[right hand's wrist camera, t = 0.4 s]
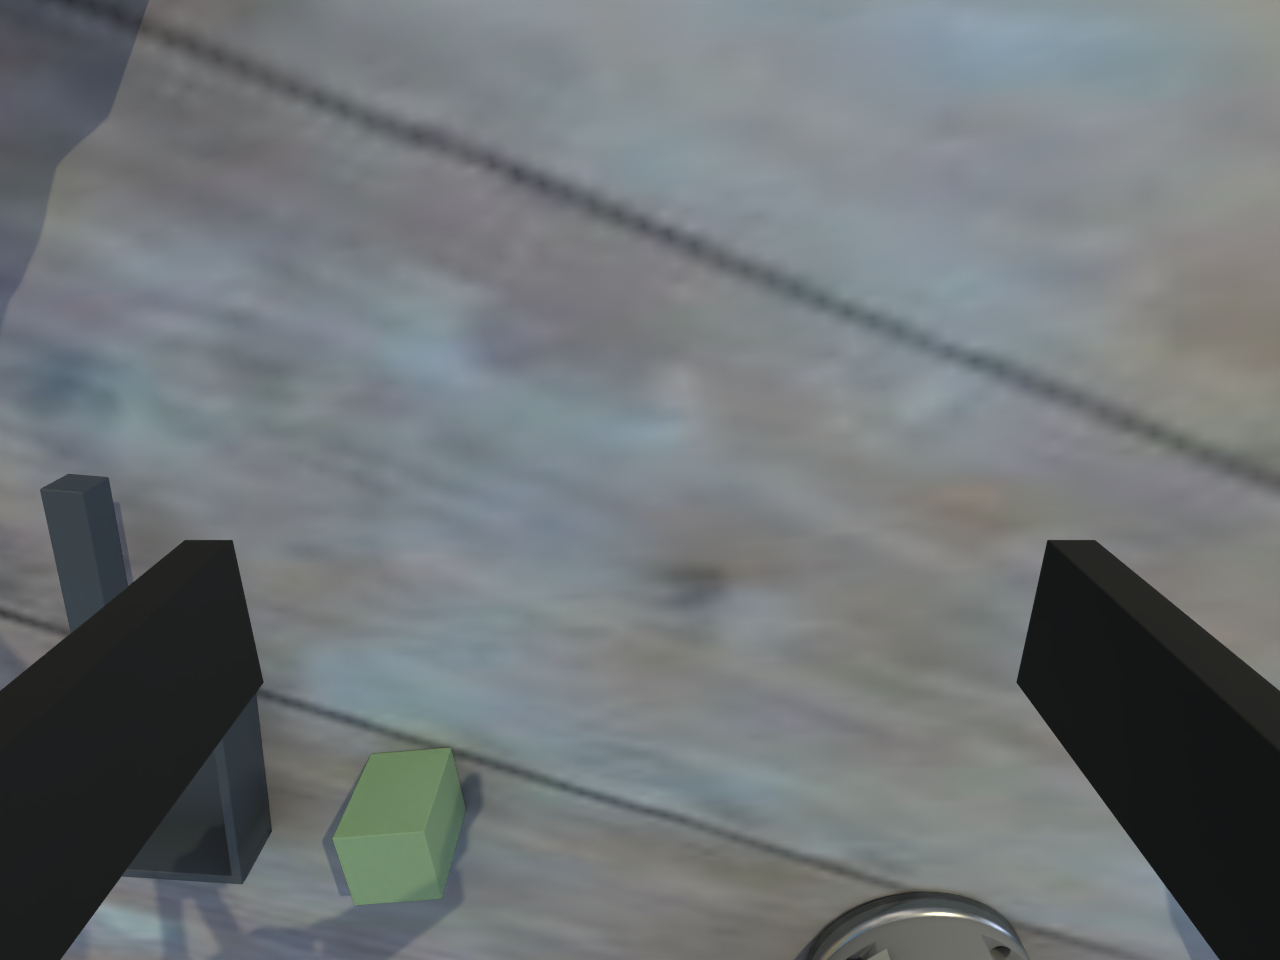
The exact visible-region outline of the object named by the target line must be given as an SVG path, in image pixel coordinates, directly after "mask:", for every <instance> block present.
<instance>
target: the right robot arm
mask: <svg viewBox="0 0 1280 960" xmlns="http://www.w3.org/2000/svg"><path fill="white" fill-rule="evenodd" d="M262 684H263V678H262V673H261V669H260V664H259V660H258V655H257V651H256V646H255V641H254V637H253V632H252V628H251V623H250V618H249V614H248V609H247V605H246V600H245V595H244V591H243V586H242V582H241V577H240V572H239V568H238V563H237V559H236V554H235V549H234V545H233V540H185V541H183V542H182V543H181V544H180V545H178V546H177V547H176V548H175V549H174V550H172V551H171V552H170V553H169V554H167V555H166V556H165V557H164V558H163V559H161V560H160V561H159V562H158V563H156V564H155V565H154V566H153V567H152V568H150V569H149V570H148V571H147V572H145V573H144V574H143V575H142V576H141V577H139V578H138V579H137V580H136V581H134V582H133V583H132V584H131V585H130V586H128V587H127V588H126V589H125V590H123V591H122V592H121V593H120V594H118V595H117V596H116V597H115V598H114V599H112V600H111V601H110V602H109V603H107V604H106V605H105V606H104V607H103V608H101V609H100V610H99V611H98V612H96V613H95V614H94V615H93V616H92V617H90V618H89V619H88V620H87V621H85V622H84V623H83V624H82V625H81V626H79V627H78V628H77V629H76V630H74V631H73V632H72V633H71V634H70V635H68V636H67V637H66V638H65V639H63V640H62V641H61V642H60V643H58V644H57V645H56V646H55V647H54V648H52V649H51V650H50V651H49V652H47V653H46V654H45V655H44V656H43V657H41V658H40V659H39V660H38V661H36V662H35V663H34V664H33V665H32V666H30V667H29V668H28V669H27V670H25V671H24V672H23V673H22V674H21V675H19V676H18V677H17V678H16V679H14V680H13V681H12V682H11V683H10V684H8V685H7V686H6V687H5V688H3V689H2V690H1V691H0V960H60V959H61V958H62V957H63V955H64V954H65V953H66V951H67V950H68V949H69V947H70V946H71V944H72V943H73V942H74V940H75V939H76V938H77V936H78V935H79V933H80V932H81V931H82V929H83V928H84V927H85V925H86V924H87V923H88V921H89V920H90V918H91V917H92V916H93V914H94V913H95V912H96V910H97V909H98V908H99V906H100V905H101V903H102V902H103V901H104V899H105V898H106V897H107V895H108V894H109V893H110V891H111V890H112V888H113V887H114V886H115V884H116V883H117V882H118V880H119V879H120V878H121V876H122V875H123V873H124V872H125V871H126V869H127V868H128V867H129V865H130V864H131V863H132V861H133V860H134V858H135V857H136V856H137V854H138V853H139V852H140V850H141V849H142V848H143V846H144V845H145V843H146V842H147V841H148V839H149V838H150V837H151V835H152V834H153V833H154V831H155V830H156V828H157V827H158V826H159V824H160V823H161V822H162V820H163V819H164V817H165V816H166V815H167V813H168V812H169V811H170V809H171V808H172V807H173V805H174V804H175V802H176V801H177V800H178V798H179V797H180V796H181V794H182V793H183V792H184V790H185V789H186V787H187V786H188V785H189V783H190V782H191V781H192V779H193V778H194V777H195V775H196V774H197V772H198V771H199V770H200V768H201V767H202V766H203V764H204V763H205V762H206V760H207V759H208V757H209V756H210V755H211V753H212V752H213V751H214V749H215V748H216V747H217V745H218V744H219V742H220V741H221V740H222V738H223V737H224V736H225V734H226V733H227V732H228V730H229V729H230V727H231V726H232V725H233V723H234V722H235V721H236V719H237V718H238V717H239V715H240V714H241V712H242V711H243V710H244V708H245V707H246V706H247V704H248V703H249V701H250V700H251V699H252V697H253V696H254V695H255V693H256V692H257V691H258V689H259V688H260V686H261V685H262ZM1017 684H1018V685H1019V686H1020V688H1021V689H1022V691H1023V692H1024V693H1025V695H1026V696H1027V697H1028V699H1029V700H1030V701H1031V703H1032V704H1033V706H1034V707H1035V708H1036V710H1037V711H1038V712H1039V714H1040V715H1041V717H1042V718H1043V719H1044V721H1045V722H1046V723H1047V725H1048V726H1049V727H1050V729H1051V730H1052V732H1053V733H1054V734H1055V736H1056V737H1057V738H1058V740H1059V741H1060V742H1061V744H1062V745H1063V747H1064V748H1065V749H1066V751H1067V752H1068V753H1069V755H1070V756H1071V757H1072V759H1073V760H1074V762H1075V763H1076V764H1077V766H1078V767H1079V768H1080V770H1081V771H1082V772H1083V774H1084V775H1085V777H1086V778H1087V779H1088V781H1089V782H1090V783H1091V785H1092V786H1093V787H1094V789H1095V790H1096V792H1097V793H1098V794H1099V796H1100V797H1101V798H1102V800H1103V801H1104V802H1105V804H1106V805H1107V807H1108V808H1109V809H1110V811H1111V812H1112V813H1113V815H1114V816H1115V817H1116V819H1117V820H1118V822H1119V823H1120V824H1121V826H1122V827H1123V828H1124V830H1125V831H1126V833H1127V834H1128V835H1129V837H1130V838H1131V839H1132V841H1133V842H1134V843H1135V845H1136V846H1137V848H1138V849H1139V850H1140V852H1141V853H1142V854H1143V856H1144V857H1145V858H1146V860H1147V861H1148V863H1149V864H1150V865H1151V867H1152V868H1153V869H1154V871H1155V872H1156V873H1157V875H1158V876H1159V878H1160V879H1161V880H1162V882H1163V883H1164V884H1165V886H1166V887H1167V888H1168V890H1169V891H1170V893H1171V894H1172V895H1173V897H1174V898H1175V899H1176V901H1177V902H1178V903H1179V905H1180V906H1181V908H1182V909H1183V910H1184V912H1185V913H1186V914H1187V916H1188V917H1189V918H1190V920H1191V921H1192V923H1193V924H1194V925H1195V927H1196V928H1197V929H1198V931H1199V932H1200V934H1201V935H1202V936H1203V938H1204V939H1205V940H1206V942H1207V943H1208V944H1209V946H1210V947H1211V949H1212V950H1213V951H1214V953H1215V954H1216V955H1217V957H1218V958H1219V959H1220V960H1280V691H1279V690H1278V689H1277V688H1275V687H1274V686H1273V685H1272V684H1270V683H1269V682H1268V681H1267V680H1266V679H1264V678H1263V677H1262V676H1261V675H1259V674H1258V673H1257V672H1256V671H1255V670H1253V669H1252V668H1251V667H1250V666H1248V665H1247V664H1246V663H1245V662H1244V661H1242V660H1241V659H1240V658H1239V657H1237V656H1236V655H1235V654H1234V653H1233V652H1231V651H1230V650H1229V649H1228V648H1226V647H1225V646H1224V645H1223V644H1222V643H1220V642H1219V641H1218V640H1217V639H1215V638H1214V637H1213V636H1212V635H1210V634H1209V633H1208V632H1207V631H1206V630H1204V629H1203V628H1202V627H1201V626H1199V625H1198V624H1197V623H1196V622H1195V621H1193V620H1192V619H1191V618H1190V617H1188V616H1187V615H1186V614H1185V613H1184V612H1182V611H1181V610H1180V609H1179V608H1177V607H1176V606H1175V605H1174V604H1173V603H1171V602H1170V601H1169V600H1168V599H1166V598H1165V597H1164V596H1163V595H1162V594H1160V593H1159V592H1158V591H1157V590H1155V589H1154V588H1153V587H1152V586H1150V585H1149V584H1148V583H1147V582H1146V581H1144V580H1143V579H1142V578H1141V577H1139V576H1138V575H1137V574H1136V573H1135V572H1133V571H1132V570H1131V569H1130V568H1128V567H1127V566H1126V565H1125V564H1124V563H1122V562H1121V561H1120V560H1119V559H1117V558H1116V557H1115V556H1114V555H1113V554H1111V553H1110V552H1109V551H1108V550H1106V549H1105V548H1104V547H1103V546H1102V545H1100V544H1099V543H1098V542H1097V541H1095V540H1047V545H1046V549H1045V554H1044V559H1043V563H1042V568H1041V572H1040V577H1039V582H1038V586H1037V591H1036V595H1035V600H1034V605H1033V609H1032V614H1031V618H1030V623H1029V628H1028V632H1027V637H1026V641H1025V646H1024V650H1023V655H1022V660H1021V664H1020V669H1019V673H1018V678H1017ZM807 960H1029V957H1028V955H1027V953H1026V951H1025V949H1024V947H1023V945H1022V943H1021V941H1020V939H1019V937H1018V935H1017V933H1016V932H1015V930H1014V928H1013V927H1012V926H1011V924H1010V923H1009V922H1008V921H1007V920H1006V919H1005V918H1004V917H1003V916H1002V915H1001V914H999V913H998V912H997V911H995V910H994V909H992V908H990V907H989V906H987V905H985V904H983V903H981V902H978V901H976V900H973V899H970V898H967V897H963V896H959V895H954V894H948V893H939V892H917V893H907V894H900V895H895V896H890V897H886V898H882V899H879V900H876V901H873V902H870V903H868V904H866V905H863V906H861V907H859V908H857V909H855V910H853V911H851V912H849V913H848V914H846V915H844V916H843V917H841V918H840V919H838V920H837V921H836V922H834V923H833V924H832V925H831V926H830V927H828V928H827V929H826V930H825V931H824V932H823V933H822V935H821V936H820V937H819V938H818V939H817V941H816V942H815V944H814V945H813V947H812V948H811V950H810V952H809V954H808V957H807Z"/></svg>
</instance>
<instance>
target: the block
mask: <svg viewBox="0 0 1280 960" xmlns="http://www.w3.org/2000/svg"><path fill="white" fill-rule="evenodd" d="M465 812H466V807H465V803H464V799H463V795H462V791H461V787H460V782H459V778H458V774H457V770H456V766H455V762H454V758H453V753H452V749H451V747H450V748H437V749H425V750H413V751H401V752H389V753H376V754H371V755H370V757H369V760H368V762H367V764H366V766H365V768H364V771H363V773H362V775H361V777H360V779H359V781H358V784H357V786H356V788H355V790H354V792H353V795H352V797H351V799H350V801H349V803H348V806H347V808H346V810H345V812H344V814H343V817H342V819H341V821H340V823H339V825H338V828H337V830H336V832H335V834H334V836H333V842H334V845H335V848H336V851H337V854H338V857H339V860H340V863H341V866H342V869H343V872H344V875H345V878H346V881H347V884H348V887H349V890H350V894H351V897H352V900H353V903H354V905H366V904H380V903H393V902H407V901H420V900H433V899H442V897H443V893H444V889H445V886H446V882H447V878H448V875H449V871H450V867H451V864H452V860H453V856H454V852H455V849H456V845H457V841H458V838H459V834H460V830H461V826H462V823H463V819H464V815H465Z"/></svg>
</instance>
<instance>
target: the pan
mask: <svg viewBox="0 0 1280 960" xmlns="http://www.w3.org/2000/svg"><path fill="white" fill-rule="evenodd" d="M40 491H41V496H42V501H43V505H44V510H45V515H46V519H47V524H48V529H49V533H50V538H51V543H52V547H53V552H54V557H55V561H56V566H57V570H58V575H59V580H60V584H61V589H62V594H63V598H64V603H65V608H66V612H67V617H68V622H69V626H70V631H71V633H72V632H73V631H74V630H76V629H77V628H78V627H79V626H81V625H82V624H83V623H84V622H85V621H87V620H88V619H89V618H90V617H92V616H93V615H94V614H95V613H96V612H98V611H99V610H100V609H101V608H103V607H104V606H105V605H106V604H107V603H109V602H110V601H111V600H112V599H114V598H115V597H116V596H117V595H118V594H120V593H121V592H122V591H123V590H125V589H126V588H127V587H128V584H127V578H126V573H125V567H124V561H123V556H122V550H121V544H120V539H119V533H118V528H117V522H116V516H115V511H114V505H113V500H112V494H111V488H110V483H109V478H108V477H99V476H87V475H75V474H67V475H65V476H64V477H62V478H60V479H58V480H56V481H54V482H52V483H51V484H49V485H47V486H45V487H43V488H41V489H40ZM271 832H272V829H271V821H270V812H269V803H268V794H267V786H266V777H265V768H264V759H263V751H262V742H261V733H260V724H259V716H258V707H257V698H256V693H255V695H254V696H253V697H252V699H251V700H250V701H249V703H248V704H247V706H246V707H245V708H244V710H243V711H242V712H241V714H240V715H239V717H238V718H237V719H236V721H235V722H234V723H233V725H232V726H231V727H230V729H229V730H228V732H227V733H226V734H225V736H224V737H223V738H222V740H221V741H220V742H219V744H218V745H217V747H216V748H215V749H214V751H213V752H212V753H211V755H210V756H209V757H208V759H207V760H206V762H205V763H204V764H203V766H202V767H201V768H200V770H199V771H198V772H197V774H196V775H195V777H194V778H193V779H192V781H191V782H190V783H189V785H188V786H187V787H186V789H185V790H184V792H183V793H182V794H181V796H180V797H179V798H178V800H177V801H176V802H175V804H174V805H173V807H172V808H171V809H170V811H169V812H168V813H167V815H166V816H165V817H164V819H163V820H162V822H161V823H160V824H159V826H158V827H157V828H156V830H155V831H154V833H153V834H152V835H151V837H150V838H149V839H148V841H147V842H146V843H145V845H144V846H143V848H142V849H141V850H140V852H139V853H138V854H137V856H136V857H135V858H134V860H133V861H132V863H131V864H130V865H129V867H128V868H127V869H126V871H125V872H124V873H123V875H122V876H124V877H139V878H155V879H170V880H185V881H201V882H216V883H231V884H243V882H244V880H245V879H246V877H247V875H248V873H249V871H250V870H251V868H252V866H253V864H254V862H255V861H256V859H257V857H258V855H259V853H260V852H261V850H262V848H263V846H264V844H265V843H266V841H267V839H268V837H269V835H270V834H271Z"/></svg>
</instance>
